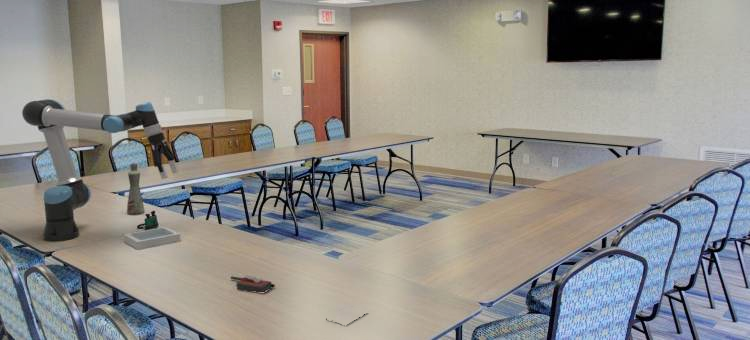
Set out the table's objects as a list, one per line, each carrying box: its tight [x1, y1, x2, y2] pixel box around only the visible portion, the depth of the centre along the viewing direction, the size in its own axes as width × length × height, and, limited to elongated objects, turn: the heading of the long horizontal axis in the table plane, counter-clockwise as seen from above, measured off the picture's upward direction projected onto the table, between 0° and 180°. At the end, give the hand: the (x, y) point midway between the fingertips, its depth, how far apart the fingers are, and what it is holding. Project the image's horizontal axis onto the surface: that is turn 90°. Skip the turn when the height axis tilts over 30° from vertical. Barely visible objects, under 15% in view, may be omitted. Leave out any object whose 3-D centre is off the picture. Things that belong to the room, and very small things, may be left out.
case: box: [123, 226, 181, 250], centre depth 277 cm, size 16×20×4 cm
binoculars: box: [136, 210, 159, 231], centre depth 290 cm, size 9×11×10 cm
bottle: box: [126, 162, 145, 216], centre depth 326 cm, size 9×9×28 cm
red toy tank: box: [230, 275, 276, 293], centre depth 222 cm, size 9×4×20 cm
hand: (170, 175), depth 290 cm, fingers open, 13 cm apart
